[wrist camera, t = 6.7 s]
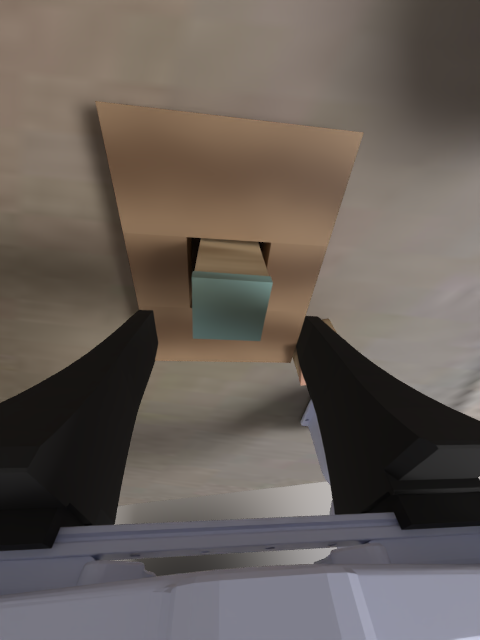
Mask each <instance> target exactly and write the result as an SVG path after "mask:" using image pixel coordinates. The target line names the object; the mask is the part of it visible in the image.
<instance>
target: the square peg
mask: <svg viewBox="0 0 480 640" xmlns="http://www.w3.org/2000/svg"><path fill="white" fill-rule="evenodd" d="M272 284H273V282H272V279H271V276H269V274H268V271H267V268H266V265H265V262H264V259H263V256H262V253H261V250H260V246H259V243H258V242H255V241H240V240H225V239H209V238H201V241H200V246H199V250H198V255H197V260H196V265H195V270H194V271H193V273H192V321H193V339H217V340H243V341H260V340H261V335H262V331H263V326H264V321H265V317H266V312H267V307H268V303H269V298H270V294H271V289H272Z"/></svg>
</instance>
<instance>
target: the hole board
mask: <svg viewBox="0 0 480 640" xmlns="http://www.w3.org/2000/svg"><path fill="white" fill-rule="evenodd" d="M95 102H96V107H97V111H98V116H99V121H100V126H101V130H102V135H103V140H104V145H105V149H106V154H107V159H108V164H109V169H110V173H111V178H112V183H113V188H114V192H115V197H116V202H117V207H118V211H119V216H120V221H121V226H122V231H123V235H124V240H125V245H126V250H127V254H128V259H129V264H130V269H131V273H132V278H133V283H134V288H135V292H136V297H137V302H138V307H139V310H153V313H154V319H155V325H156V331H157V337H158V348H157V353H156V358H155V361H218V362H284V363H291V359H292V356H293V353H294V350H295V347H296V344H297V341H298V337H299V334H300V331H301V328H302V325H303V322H304V319H305V315H306V312H307V309H308V306H309V303H310V300H311V297H312V293H313V290H314V287H315V284H316V281H317V278H318V275H319V271H320V268H321V265H322V262H323V259H324V256H325V253H326V249H327V246H328V243H329V240H330V237H331V234H332V230H333V227H334V224H335V221H336V218H337V215H338V212H339V208H340V205H341V202H342V199H343V196H344V193H345V190H346V186H347V183H348V180H349V177H350V174H351V171H352V168H353V164H354V161H355V158H356V155H357V152H358V149H359V146H360V142H361V139H362V136H363V132H354V131H346V130H337V129H329V128H320V127H312V126H303V125H294V124H286V123H277V122H269V121H260V120H252V119H243V118H235V117H226V116H218V115H209V114H200V113H192V112H183V111H175V110H166V109H158V108H149V107H141V106H132V105H124V104H115V103H106V102H98V101H95ZM191 237H194V238H209V239H225V240H240V241H255V242H263V249H262V256H263V259H264V262H265V265H266V268H267V271H268V274H269V276H271V279H272V282H273V284H272V289H271V294H270V298H269V303H268V307H267V312H266V317H265V321H264V326H263V331H262V335H261V340H260V341H243V340H217V339H193V321H192V273H193V270H192V244H191Z"/></svg>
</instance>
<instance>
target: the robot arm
mask: <svg viewBox="0 0 480 640" xmlns="http://www.w3.org/2000/svg"><path fill="white" fill-rule="evenodd" d="M157 348H158V337H157V331H156V325H155V319H154V313H153V310H139V311H137V312H136V313H135V314H134V315H133V316H132V317H131V318H129V319H128V320H127V321H126V322H125V323H124V324H123V325H122V326H121V327H119V328H118V329H117V330H116V331H115V332H114V333H112V334H111V335H110V336H109V337H108V338H106V339H105V340H104V341H103V342H101V343H100V344H99V345H97V346H96V347H95V348H94V349H92V350H91V351H90V352H88V353H87V354H86V355H84V356H83V357H81V358H80V359H78V360H77V361H75V362H74V363H72V364H71V365H69V366H68V367H66V368H65V369H63V370H61V371H60V372H58V373H56V374H54V375H53V376H51V377H49V378H47V379H46V380H44V381H42V382H41V383H39V384H37V385H35V386H33V387H32V388H30V389H28V390H26V391H24V392H22V393H20V394H18V395H16V396H14V397H12V398H10V399H8V400H6V401H4V402H2V403H0V640H480V480H479V478H478V477H479V476H480V421H478V420H476V419H474V418H472V417H469V416H467V415H465V414H463V413H461V412H458V411H456V410H454V409H452V408H450V407H447V406H445V405H443V404H442V403H440V402H438V401H436V400H434V399H432V398H430V397H428V396H426V395H424V394H422V393H420V392H419V391H417V390H415V389H413V388H412V387H410V386H408V385H406V384H405V383H403V382H401V381H400V380H398V379H396V378H395V377H393V376H392V375H390V374H389V373H387V372H386V371H384V370H383V369H381V368H380V367H378V366H377V365H375V364H374V363H373V362H371V361H370V360H368V359H367V358H366V357H365V356H363V355H362V354H361V353H359V352H358V351H357V350H356V349H355V348H353V347H352V346H351V345H350V344H349V343H347V342H346V341H345V340H344V339H343V338H342V337H340V336H339V335H338V334H337V333H336V332H335V331H334V330H333V329H331V328H330V327H329V326H328V325H327V324H326V323H325V322H324V321H322V320H321V319H320V318H319V317H315V316H305V319H304V322H303V325H302V329H301V332H300V335H299V338H298V341H297V344H296V351H297V356H298V361H299V365H300V368H301V371H302V374H303V377H304V380H305V383H306V386H307V388H308V391H309V394H310V397H311V400H310V402H309V404H308V407H307V409H306V411H305V413H304V415H303V417H302V420H301V425H302V426H309V430H310V433H311V437H312V440H313V444H314V447H315V450H316V454H317V457H318V461H319V464H320V467H321V471H322V473H323V475H324V477H325V479H326V480H327V482H328V483H329V484H330V485H331V491H332V498H333V500H332V503H331V508H330V515H322V516H298V517H276V518H254V519H231V520H211V521H210V520H209V521H187V522H166V523H142V524H120V525H114V524H115V519H116V513H117V507H118V501H119V496H120V490H121V485H122V480H123V475H124V470H125V465H126V460H127V455H128V450H129V446H130V441H131V437H132V432H133V428H134V424H135V420H136V416H137V412H138V409H139V405H140V403H141V400H142V397H143V394H144V391H145V388H146V386H147V383H148V380H149V377H150V374H151V371H152V368H153V365H154V362H155V358H156V353H157ZM330 547H337V549H335V550H332V551H331V553H330V555H329V556H328V557H326V558H324V559H322V560H319V561H317V562H314V564H299V565H276V566H259V567H243V568H231V569H221V570H209V571H200V572H191V573H182V574H173V575H166V576H157V577H156V575H155V573H152V572H149V571H146V570H145V569H144V568H145V566H144V564H143V563H142V562H127V561H110V560H124V559H140V558H158V557H175V556H193V555H210V554H227V553H244V552H260V551H277V550H295V549H311V548H330Z"/></svg>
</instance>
